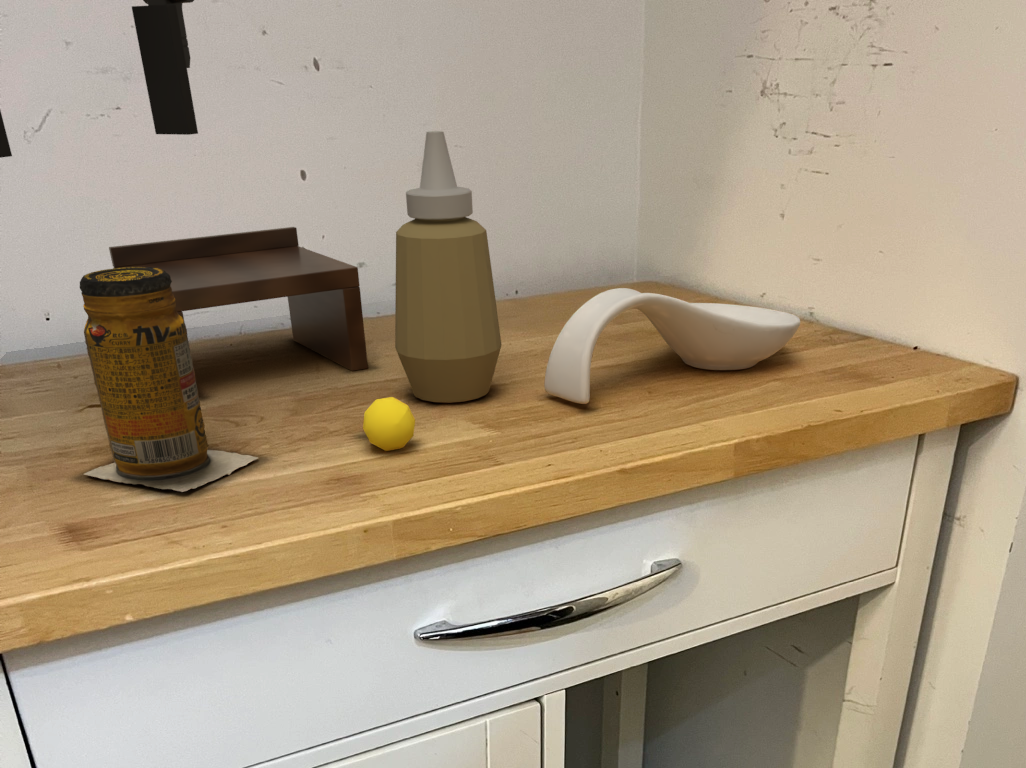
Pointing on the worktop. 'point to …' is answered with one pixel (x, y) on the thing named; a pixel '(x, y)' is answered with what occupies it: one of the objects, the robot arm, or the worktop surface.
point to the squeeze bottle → (444, 288)
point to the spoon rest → (667, 336)
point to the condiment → (147, 383)
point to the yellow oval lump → (389, 423)
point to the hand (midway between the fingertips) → (90, 145)
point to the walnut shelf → (264, 284)
